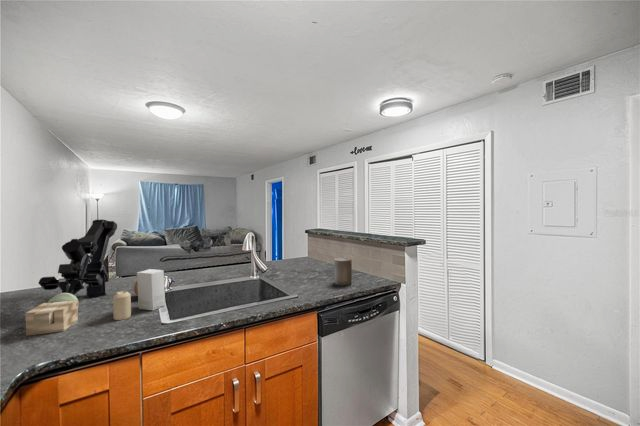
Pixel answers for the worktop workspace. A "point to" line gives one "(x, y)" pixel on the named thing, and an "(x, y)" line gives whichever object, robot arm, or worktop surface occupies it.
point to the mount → (62, 318)
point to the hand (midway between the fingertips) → (64, 301)
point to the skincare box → (151, 289)
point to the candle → (122, 305)
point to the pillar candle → (343, 271)
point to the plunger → (52, 309)
